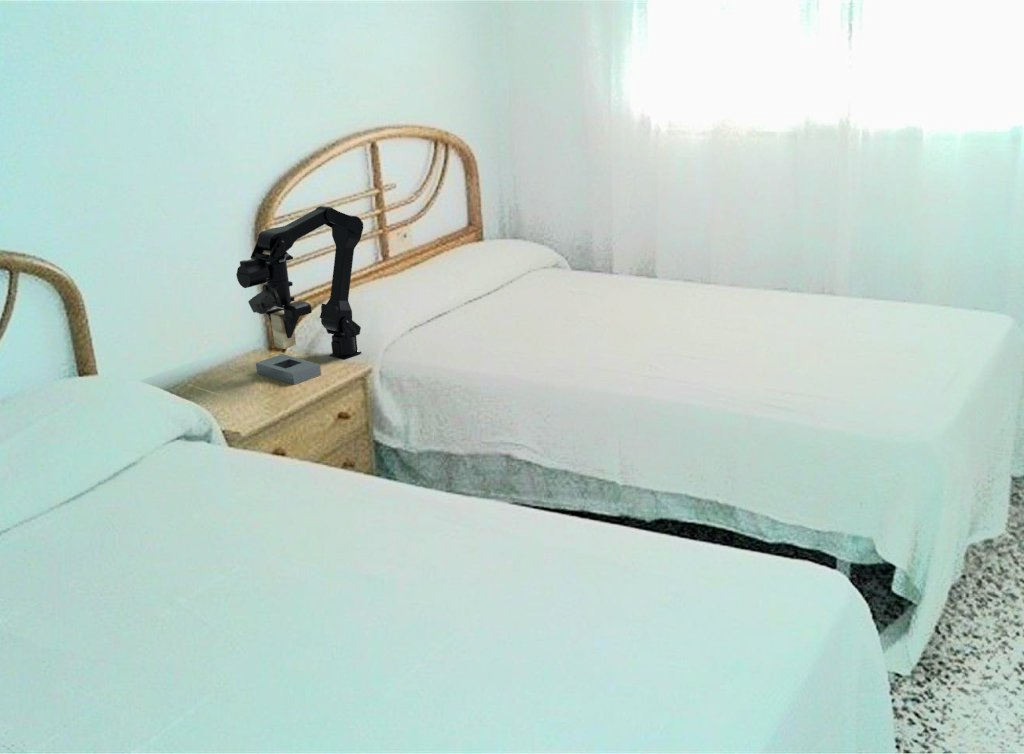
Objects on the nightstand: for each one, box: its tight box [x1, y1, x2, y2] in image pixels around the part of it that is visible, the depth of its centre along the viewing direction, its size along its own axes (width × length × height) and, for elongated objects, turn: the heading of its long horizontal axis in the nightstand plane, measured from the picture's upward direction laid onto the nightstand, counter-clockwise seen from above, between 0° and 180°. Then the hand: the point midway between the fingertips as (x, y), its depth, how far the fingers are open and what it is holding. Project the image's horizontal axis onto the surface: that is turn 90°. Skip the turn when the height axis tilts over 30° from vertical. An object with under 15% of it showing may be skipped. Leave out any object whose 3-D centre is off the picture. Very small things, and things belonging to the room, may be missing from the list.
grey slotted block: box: [255, 353, 322, 385], centre depth 278 cm, size 9×16×3 cm, turn 49°
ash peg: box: [270, 310, 297, 350], centre depth 274 cm, size 4×4×9 cm
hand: (284, 336), depth 275 cm, fingers closed on ash peg, 4 cm apart
